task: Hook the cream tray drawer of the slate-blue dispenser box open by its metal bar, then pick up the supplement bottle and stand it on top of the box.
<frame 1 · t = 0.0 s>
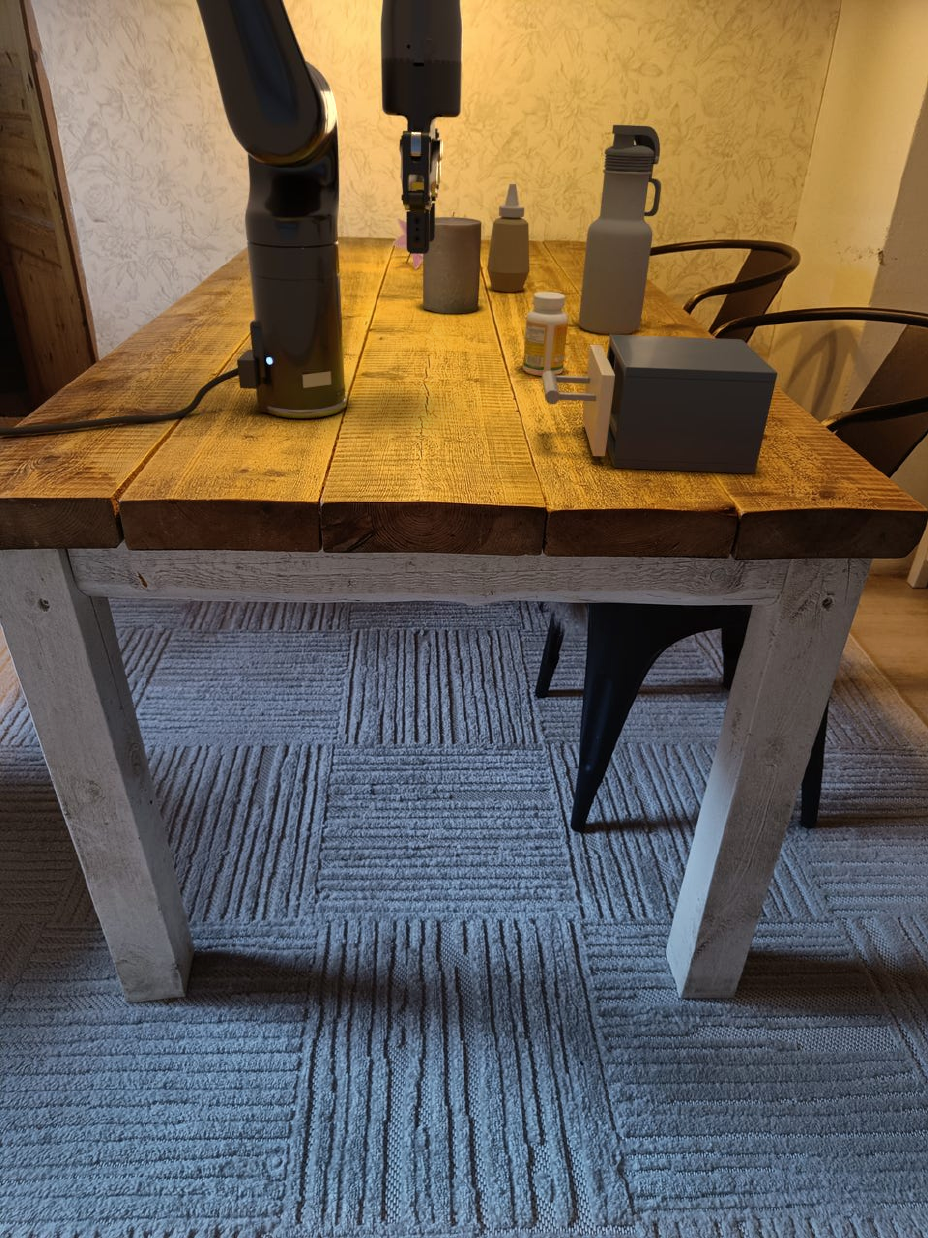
hand: (421, 246, 85), 17 cm above the table, tool pointing down, fingers open, 8 cm apart
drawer: (629, 399, 84), point 5 cm above the table, slide at 0.8 cm
water bottle: (609, 329, 133), on the table
pillar candle: (450, 309, 143), on the table
squeeze bottle: (507, 290, 159), on the table
supplement bottle: (542, 372, 110), on the table
lily: (417, 266, 180), on the table
cabinet: (671, 448, 86), on the table
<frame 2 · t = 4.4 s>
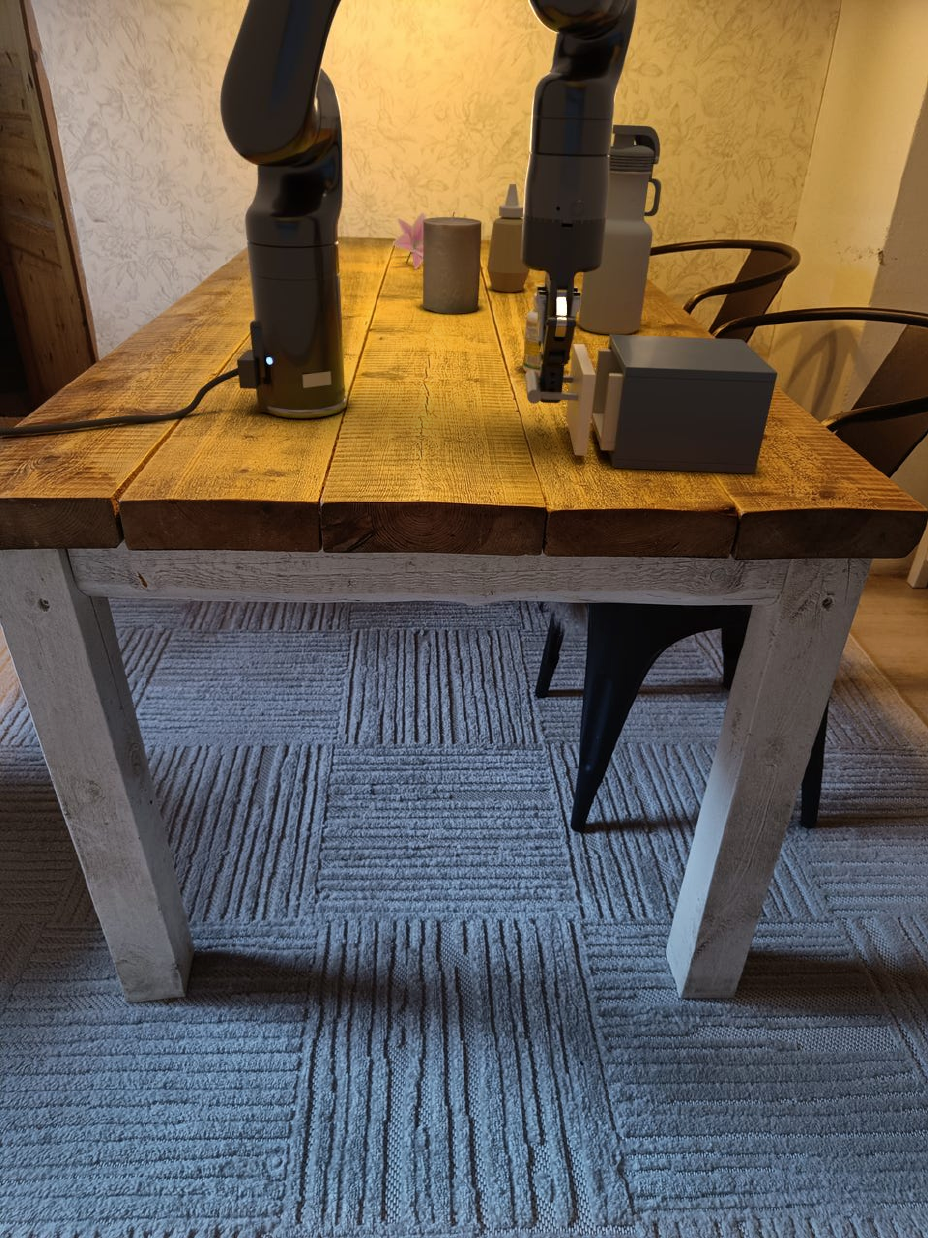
hand: (549, 400, 84), 4 cm above the table, tool pointing down, fingers closed
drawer: (612, 399, 84), point 5 cm above the table, slide at 2.6 cm, touching gripper
everything else where it was.
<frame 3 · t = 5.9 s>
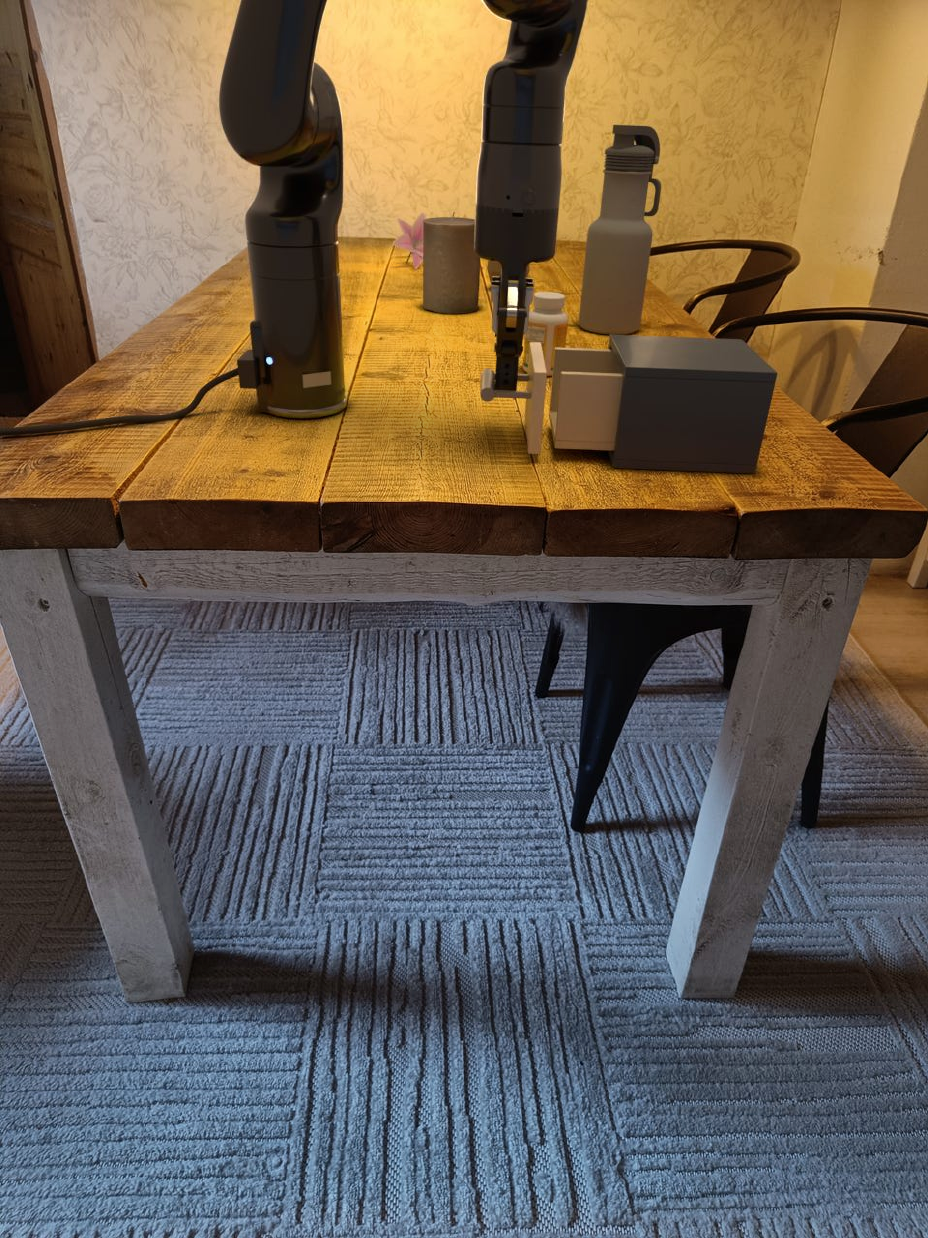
hand: (505, 392, 84), 5 cm above the table, tool pointing down, fingers closed
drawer: (567, 397, 84), point 5 cm above the table, slide at 7.1 cm
everything else where it was.
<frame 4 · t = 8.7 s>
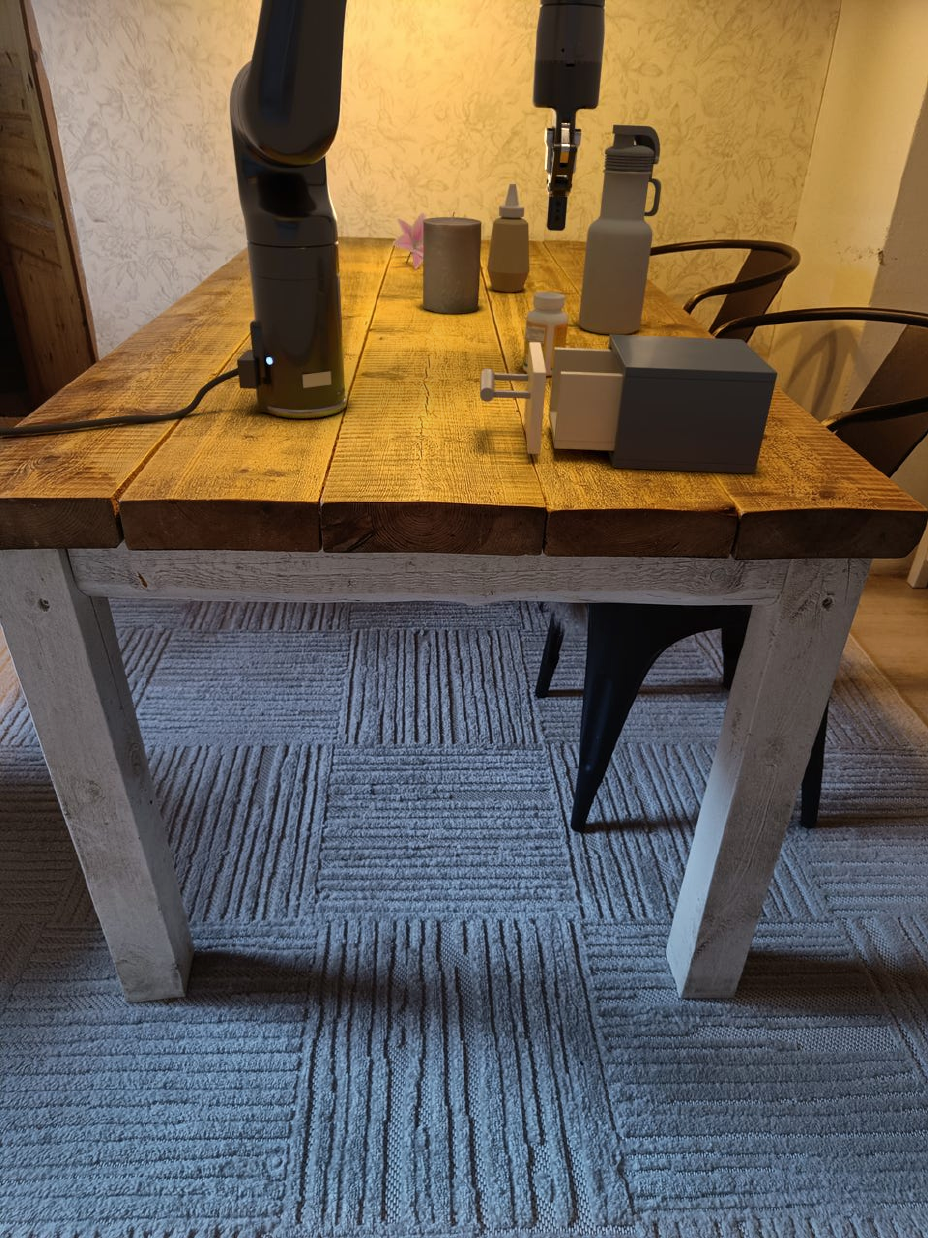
hand: (555, 229, 101), 17 cm above the table, tool pointing down, fingers closed
nothing on the table moved.
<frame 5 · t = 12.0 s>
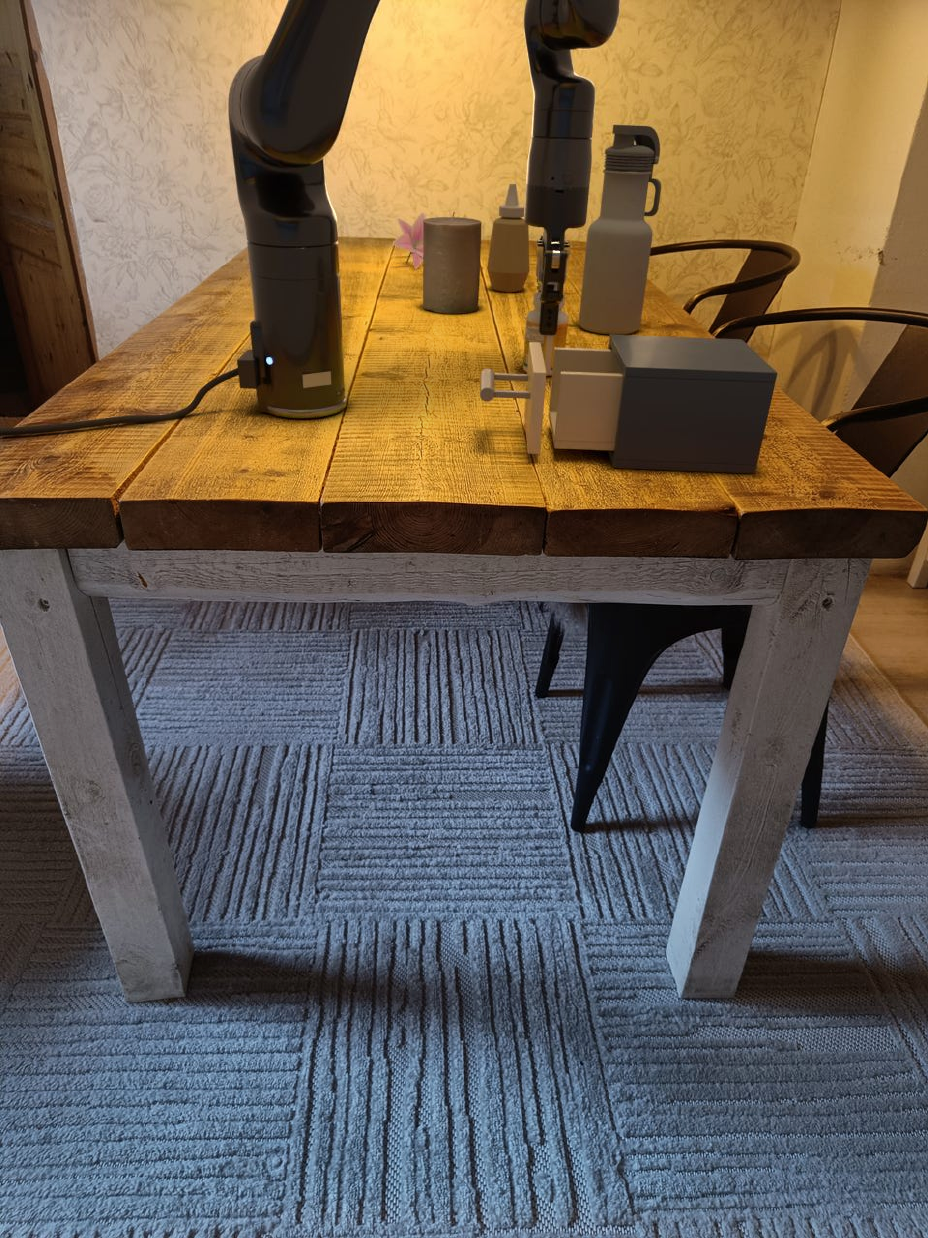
hand: (546, 328, 107), 5 cm above the table, tool pointing down, fingers closed on supplement bottle, 5 cm apart
supplement bottle: (542, 372, 110), on the table, touching gripper
everything else where it was.
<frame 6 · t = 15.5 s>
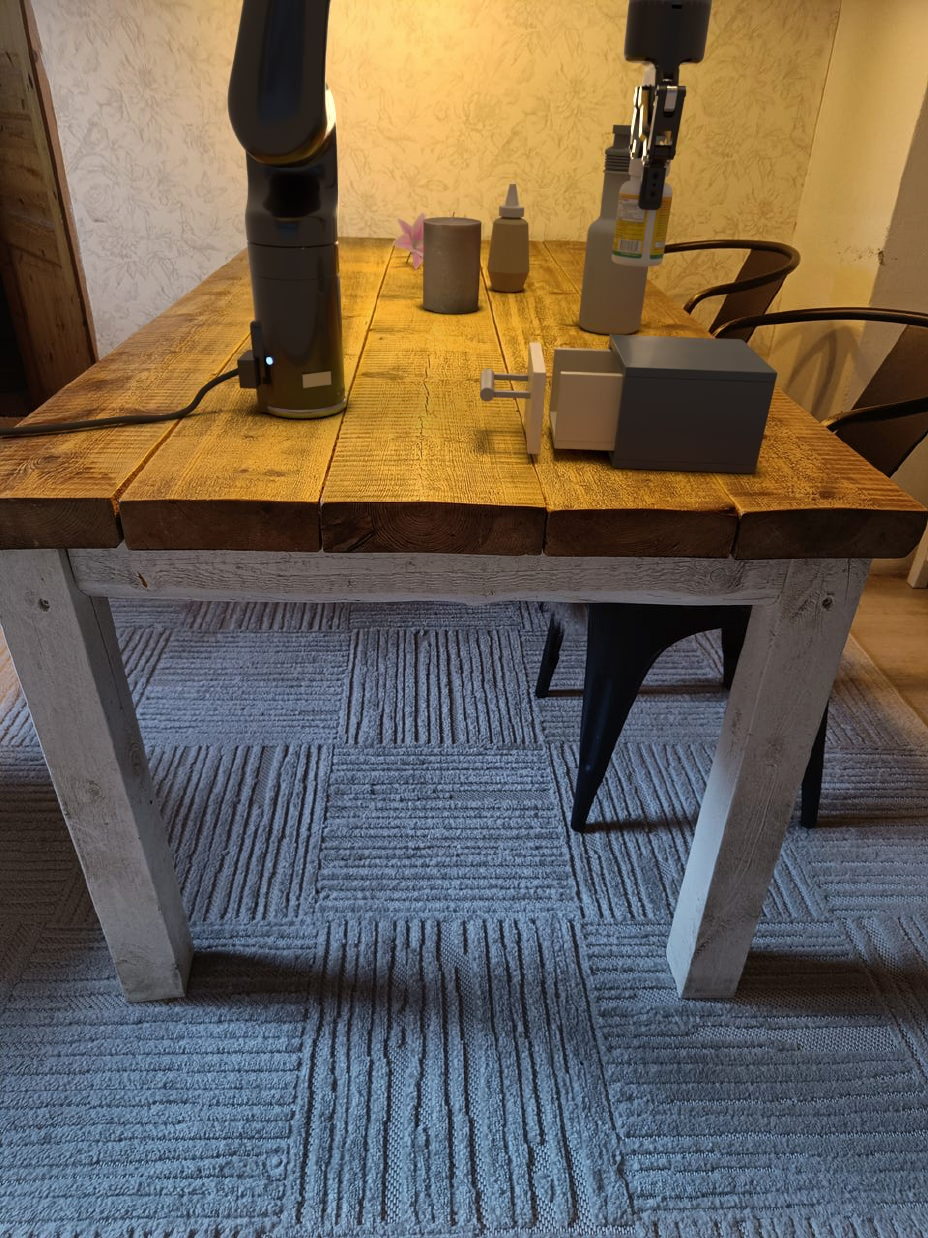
hand: (644, 205, 85), 22 cm above the table, tool pointing down, fingers closed on supplement bottle, 5 cm apart
supplement bottle: (636, 264, 88), point 16 cm above the table, touching gripper
everything else where it was.
when the fingers open (15 cm above the table, at t = 19.0 s): supplement bottle stays where it is, resting on cabinet.
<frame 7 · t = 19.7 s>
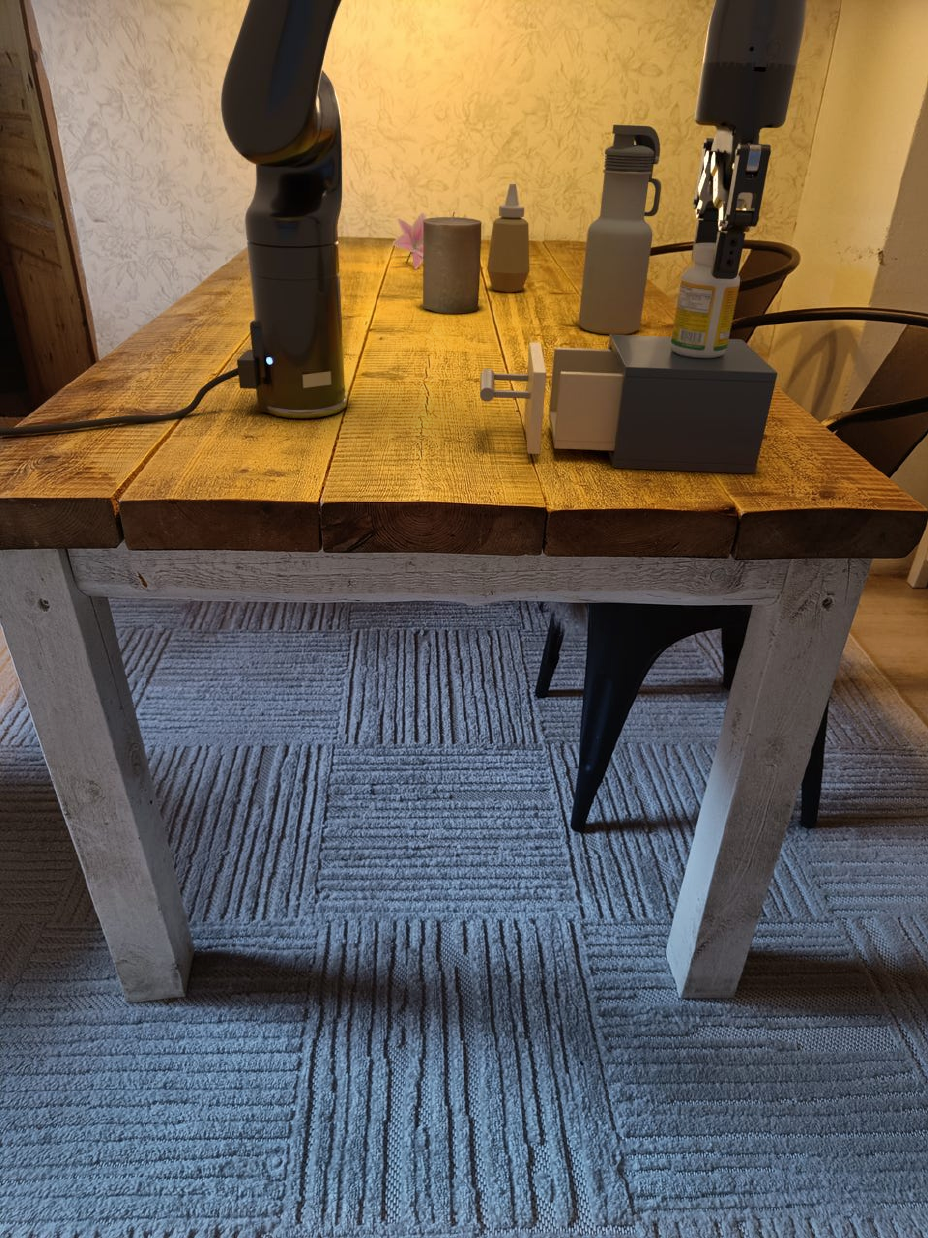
hand: (712, 269, 77), 17 cm above the table, tool pointing down, fingers open, 8 cm apart
supplement bottle: (697, 354, 81), point 10 cm above the table, touching cabinet
everything else where it was.
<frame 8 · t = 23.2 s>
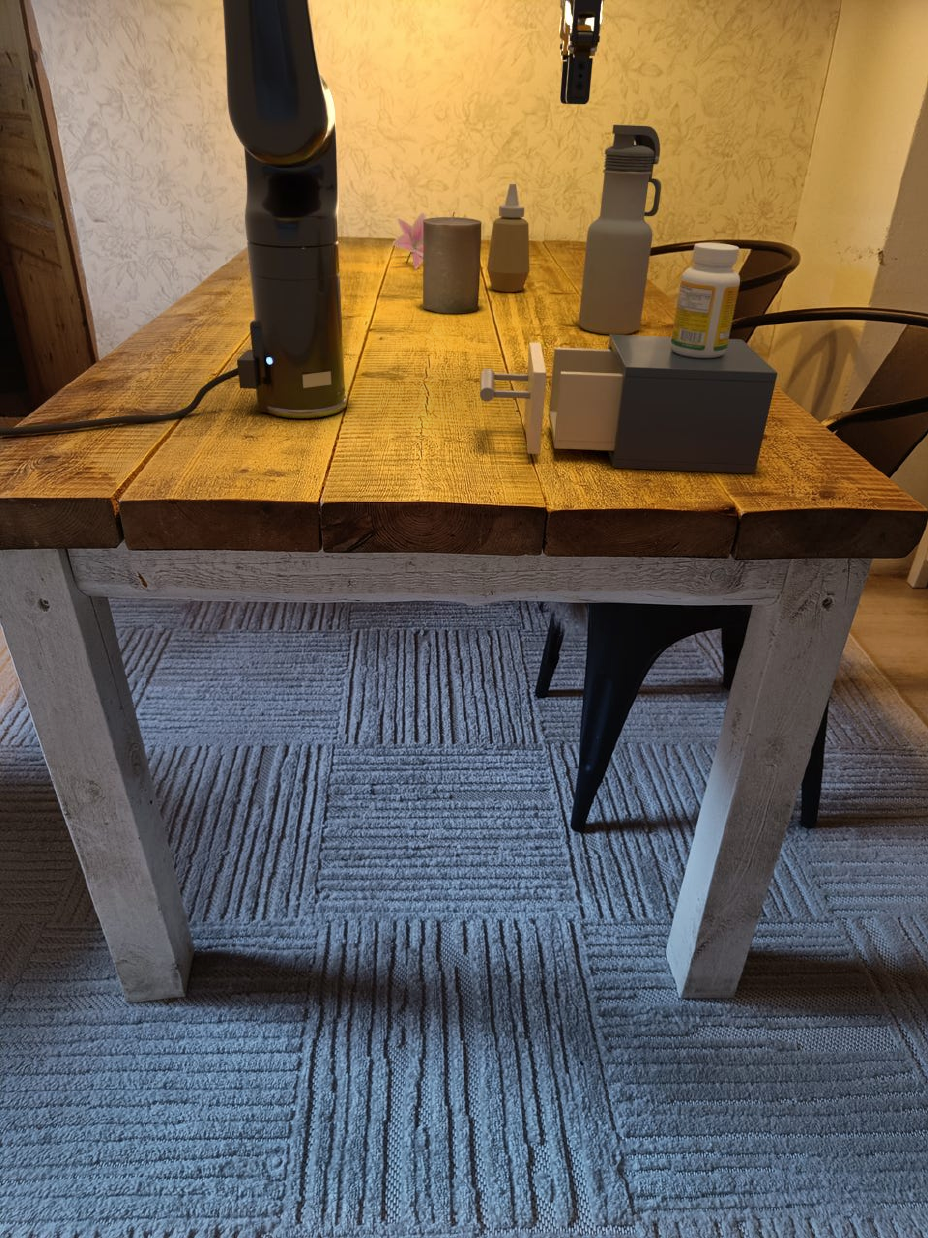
hand: (573, 103, 83), 30 cm above the table, tool pointing down, fingers open, 8 cm apart
nothing on the table moved.
at the end: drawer slide at 7.2 cm; supplement bottle inside the target area on the cabinet (0.9 cm from its centre), point 9.6 cm above the cabinet's base; supplement bottle tilted 0° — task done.
